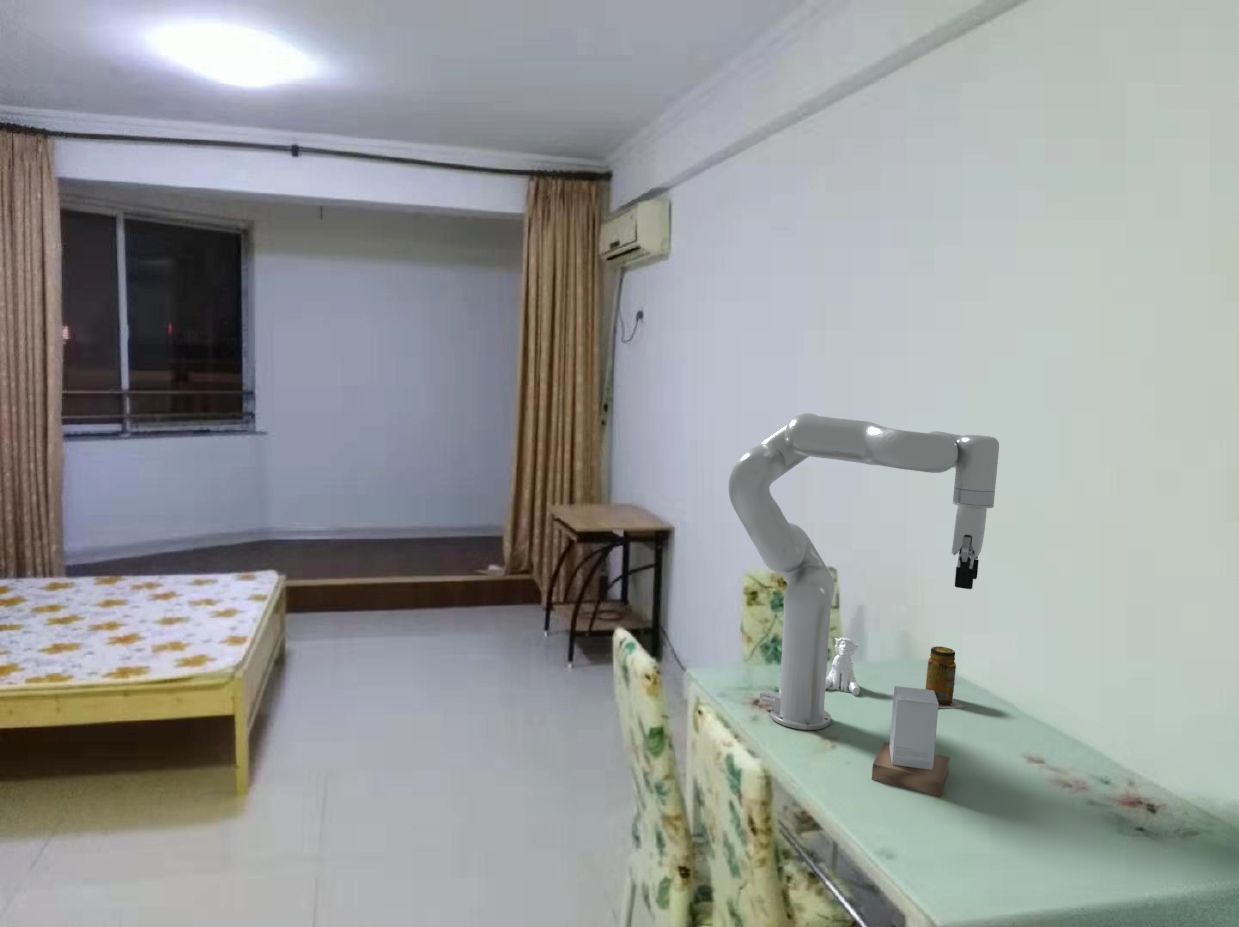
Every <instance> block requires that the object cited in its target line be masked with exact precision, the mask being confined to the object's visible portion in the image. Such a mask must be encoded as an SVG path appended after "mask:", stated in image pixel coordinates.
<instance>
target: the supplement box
mask: <svg viewBox="0 0 1239 927" xmlns="http://www.w3.org/2000/svg"><path fill="white" fill-rule="evenodd" d="M938 706H939V703H938V701H937V698H936V695H935V692H934V690H926V688H925V689H924V688H915V687H906V686H894V691H893V701H892V712H891V713H892V714H891V724H890V725H891V726H890V736H889V743H890V746H889V750H890V756H891V762H892V764H893V765H899V766H906V767H913V768H920V769H926V770H933V763H934V753H935V750H936V739H937V738H936V737H937V724H938V717H939V716H938V715H939V714H938V713H939V708H938Z"/></svg>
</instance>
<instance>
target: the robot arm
mask: <svg viewBox="0 0 1239 927" xmlns="http://www.w3.org/2000/svg"><path fill="white" fill-rule="evenodd" d="M999 451H1000V442H999V440H998V439H997V438H996V437H994V436H989V435H988V436H987V435H981V434H979V435H978V434H967V435H966V434H965V435H961V434H954V433H950V432H943V431H938V430H937V431H935V430H934V431H930V432H919V431H918V432H917V431H910V430H909V431H908V430H902V429H897V428H892V427H885V426H883V425H880V424H877V423H874V422H871V421H867V420H858V419H848V418H847V419H846V418H837V417H831V416H821V415H817V414H814V413H807V412H805V413H802V414H799V415H796V416H794V417H793V418H791V420H790V421H788V423H787V424H786V425H784V426H783V427H782V428H781V429H779V430H778V431H777V432H775V433H774V434H772V435H771V436H769V437H767V438H766V439H765V440H763V441H762V442H761V443H759V444H757V445H756V446H754V447H752V448H750V449H748V450H746V452H744V453H743V454H742V455H741V456H740V457H739V458H738V460H737V462H736V463H735V465H734V467H733V468H732V471H731V473H730V474H729V475H730V476H729V478H728V479H729V480H728V494H729V495H728V496H729V500H730V503H731V505H732V507H733V510H734V511H735V512H736V515H737V517H738V518H739V520H740V522H741V524H742V525H743V527H744V529H745V530H746V532H747V535H748V536H749V537H750V538H749V539H750V541H752V543H753V545H754V546H755V549H757V552H758V553H759V555H760V557H761V559H762V561H763V563H764V565H765V566H766V567H768V569H769V570H770V571H773V573H777V574H781V576H782V578H783V579H784V581H785V582H786V584H787V586H786V589H785V592H784V597H783V625H782V626H783V627H782V642H781V646H782V647H781V659H780V661H781V662H780V675H779V690H778V691H775V692H770V691H769V690H767V691H766V690H761V691H760V692H759V699H760V700H761V703H762V704H769V705H772V707H771V708H770V713H769V714H770V717H771V718H772V720H773V721H775V722H776V723H778V724H779V725H783V726H784V727H788V728H791V729H797V730H805V731H812V730H814V731H815V730H820V729H824V728H826V727H828V726H829V725H830V724H831V720H832V719H831V718H832V717H831V715H830V713H829V712H828V711H827V710H825V696H826V690H825V686H826V677H827V671H828V659H829V658H828V655H829V643H830V642H829V640H830V624H831V610H832V604H833V597H834V595H835V581H834V578H833V576H832V574H831V572H830V570H829V569H828V567H827V566H826V563H825V562H824V560H823V559H822V557H821V555H820V554H819V552H818V550H817V549H816V547H815V545H814V543H813V541H812V540H811V539H810V537H809V535H808V534H807V533H806V532H805V531H804V530H803V529H802V528H801V527H800V526H798V525H797V524H794V523H792V522H789V521H788V520H787V518H786V517H785V515H784V513H783V511H782V510H781V507H780V506H779V505H778V503H777V501H776V500H775V499H774V497H773V496H772V493H771V491H770V489H771V488H770V487H771V484H773V483H774V482H775V481H776V480H778V479H779V478H780V477H782V476H783V475H785V474H786V473H788V472H789V471H790V470H792V469H793V468H794V467H796V466H797V465H799V464H801V463H802V462H803V461H805V460H806V459H808V458H809V457H813V458H821V459H829V460H837V461H845V462H853V463H858V464H859V463H860V464H865V465H869V466H882V467H887V468H893V469H900V470H907V471H908V470H909V471H914V472H923V473H933V474H939V473H945V472H947V471H949V470H951V469H952V468H954V469H955V473H954V474H955V476H954V486H953V494H952V495H953V496H952V497H953V498H952V504H953V505H955V506H957V509H956V514H955V521H954V532H953V540H952V548H951V554H952V555H953V556H956V555H957V554H958V558H957V564H956V567H955V576H954V577H955V578H954V587H955V588H956V589H957V588H958V589H965V590H972V589H973V585H974V584H973V583H974V580H977V578H978V573H979V572H978V570H979V562H980V560H979V556H980V554H981V552H982V549H983V543H984V538H985V531H986V523H987V522H986V521H987V512H988V511H987V510H988V509H993V508H994V507H995V506H994V505H995V495H996V484H997V475H998V473H997V472H998V466H999V465H998V464H999V453H1000V452H999Z"/></svg>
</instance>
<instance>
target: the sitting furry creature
mask: <svg viewBox="0 0 1239 927" xmlns="http://www.w3.org/2000/svg"><path fill="white" fill-rule="evenodd" d="M834 641H835V643H836V644H835V645H834V648H835V653H836V654H837V655H835V657H834V659H833V660H832V665H831V670H830V671H829V673H828V674H827V675H826V686H825V691H826V690H833V691H835V690H836V691H841V692H846V693H851V694H852V695H853V696H855V697H857V696H858V695H859V694H860V692H861V691H860V690H861V687H860V684H858V682H857V680H856V677H855V673H854V670H853V667H854V666H853V661H852V658H851V656H852V655H854V654H855V651H856V650H858V647H859V645H860V643H856V644H855V643H854V641H853V640H852V639H850V638H849V637H839V638H836V637H834Z"/></svg>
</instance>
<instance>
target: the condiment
mask: <svg viewBox="0 0 1239 927" xmlns="http://www.w3.org/2000/svg"><path fill="white" fill-rule="evenodd" d="M929 656H930V657H929V658H928V661H927V668H926V679H925V680H926V682H925V689H926V690H934V692H935V695H936V698H937V701H938V703H939V706H938V709H957V708H958V709H959V708H960V709H961V708H965V705H964V704H961V703H960V702H958V701H957V700H955V699H953V698H954V691H955V680H956V672H957V671H956V670H957V666H956V665H957V664H956V662H955V660H956V651H955V650H954V649H952V648H949V647H945V646H933V647H931V648H930V655H929Z"/></svg>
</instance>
